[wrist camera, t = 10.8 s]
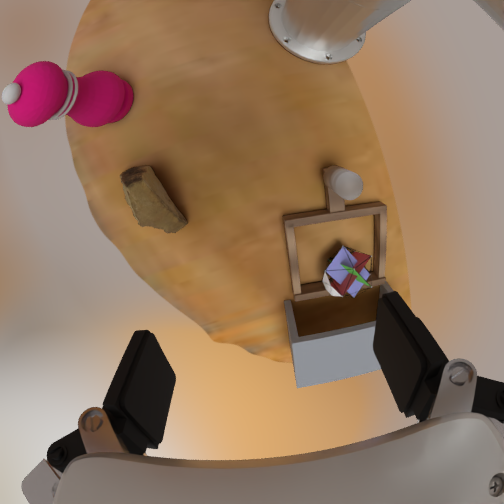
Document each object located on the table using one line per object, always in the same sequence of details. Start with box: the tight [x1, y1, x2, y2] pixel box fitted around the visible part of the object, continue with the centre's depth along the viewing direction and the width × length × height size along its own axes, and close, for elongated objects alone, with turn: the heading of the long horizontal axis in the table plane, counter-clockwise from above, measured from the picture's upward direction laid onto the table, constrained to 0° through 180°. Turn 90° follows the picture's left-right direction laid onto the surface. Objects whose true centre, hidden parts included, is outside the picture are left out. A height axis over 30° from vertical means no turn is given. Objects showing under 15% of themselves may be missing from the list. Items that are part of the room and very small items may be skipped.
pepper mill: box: [2, 61, 133, 127], centre depth 19 cm, size 7×7×20 cm
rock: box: [120, 166, 188, 233], centre depth 32 cm, size 11×9×10 cm
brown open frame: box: [283, 165, 387, 302], centre depth 33 cm, size 18×14×7 cm
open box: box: [284, 281, 393, 388], centre depth 38 cm, size 10×17×10 cm, turn 100°
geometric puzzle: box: [322, 246, 372, 298], centre depth 36 cm, size 7×7×8 cm
